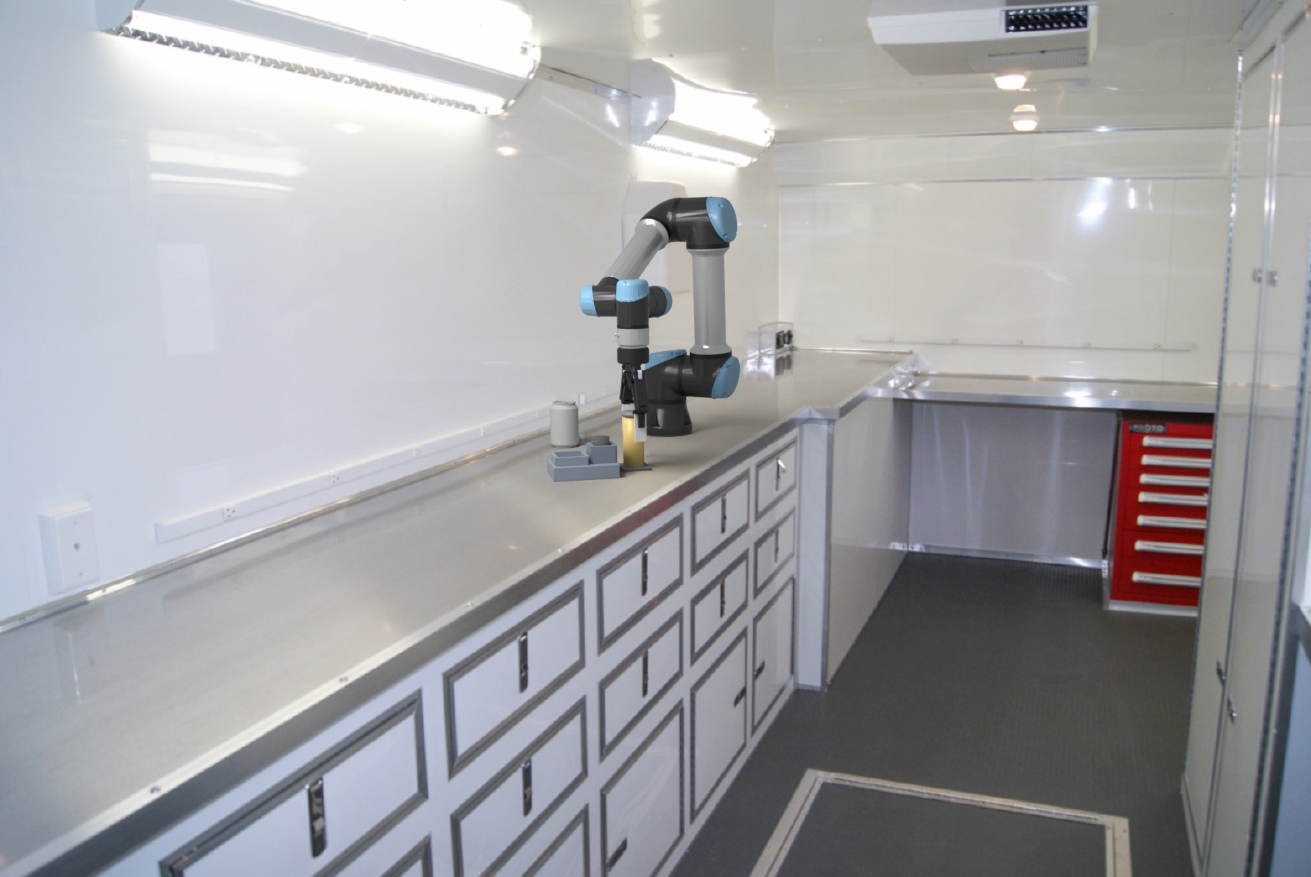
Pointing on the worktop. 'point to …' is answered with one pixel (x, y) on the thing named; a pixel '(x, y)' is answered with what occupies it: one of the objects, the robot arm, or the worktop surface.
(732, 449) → the worktop surface
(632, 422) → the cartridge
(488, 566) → the worktop surface
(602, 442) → the plunger
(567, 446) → the can
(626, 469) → the mat
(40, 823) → the worktop surface
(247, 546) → the worktop surface
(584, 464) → the housing
